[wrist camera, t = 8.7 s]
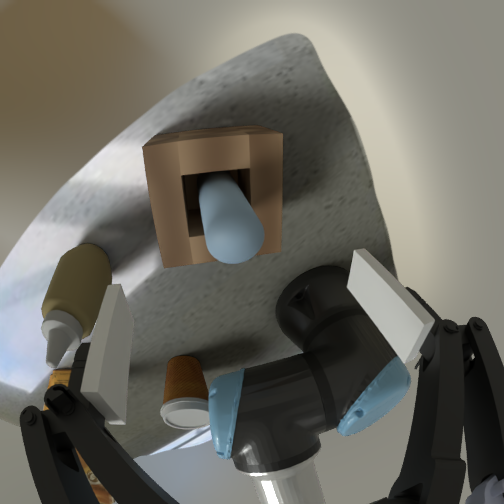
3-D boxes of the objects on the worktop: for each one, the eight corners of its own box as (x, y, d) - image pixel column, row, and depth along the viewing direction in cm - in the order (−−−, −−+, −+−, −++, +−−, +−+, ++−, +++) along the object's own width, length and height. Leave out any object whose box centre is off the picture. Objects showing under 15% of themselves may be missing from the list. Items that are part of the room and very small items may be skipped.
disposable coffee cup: (218, 360, 49) (229, 414, 39) (190, 383, 52) (197, 433, 41) (175, 342, 45) (179, 402, 34) (150, 368, 47) (150, 422, 37)
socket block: (258, 125, 30) (282, 133, 22) (259, 217, 36) (281, 251, 29) (154, 135, 28) (142, 146, 20) (167, 229, 34) (163, 268, 26)
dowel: (230, 163, 30) (264, 207, 18) (232, 196, 32) (264, 259, 20) (195, 166, 29) (202, 214, 17) (198, 200, 31) (209, 267, 19)
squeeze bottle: (72, 283, 34) (35, 382, 19) (61, 235, 30) (3, 329, 15) (120, 285, 36) (99, 391, 21) (114, 234, 33) (74, 338, 17)
